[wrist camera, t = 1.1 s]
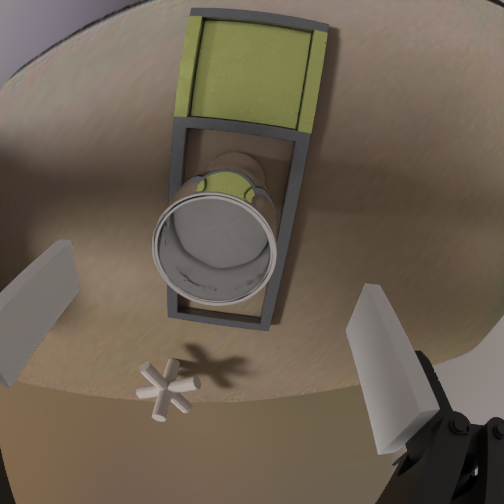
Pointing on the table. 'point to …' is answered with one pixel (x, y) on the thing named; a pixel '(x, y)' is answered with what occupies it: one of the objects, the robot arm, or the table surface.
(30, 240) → the table surface
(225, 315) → the grey flat frame
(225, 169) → the beer glass
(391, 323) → the robot arm
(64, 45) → the table surface
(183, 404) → the pipe connector
